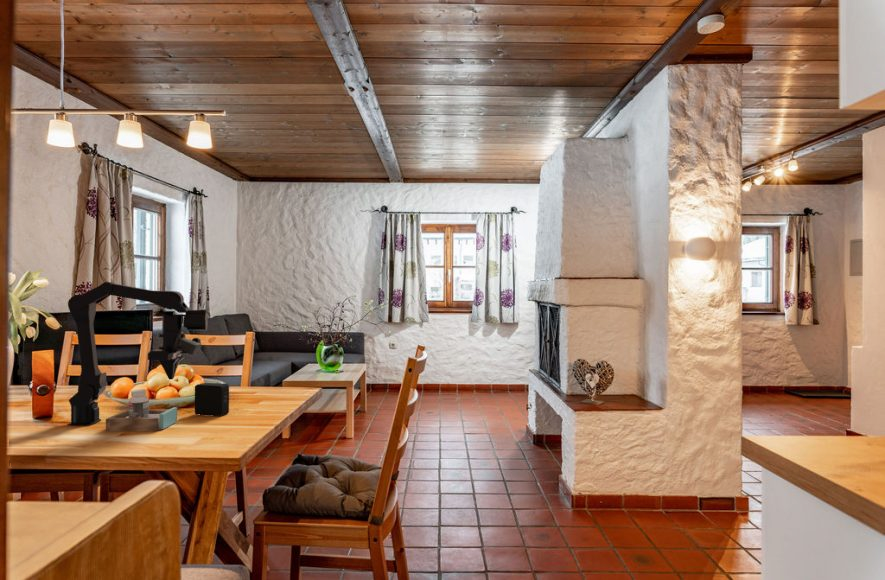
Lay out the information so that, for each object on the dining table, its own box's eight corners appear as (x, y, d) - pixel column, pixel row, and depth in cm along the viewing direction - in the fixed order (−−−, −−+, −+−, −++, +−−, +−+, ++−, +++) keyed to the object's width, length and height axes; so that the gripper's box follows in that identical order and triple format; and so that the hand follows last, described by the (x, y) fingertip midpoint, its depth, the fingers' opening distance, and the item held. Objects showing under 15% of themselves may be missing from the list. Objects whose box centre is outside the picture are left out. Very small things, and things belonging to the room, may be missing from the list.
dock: (105, 431, 159) (105, 418, 159) (127, 421, 171) (127, 409, 171) (156, 431, 160) (156, 418, 160) (174, 421, 172) (174, 409, 172)
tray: (117, 429, 161) (117, 414, 161) (133, 421, 170) (133, 407, 170) (163, 429, 161) (163, 414, 161) (177, 421, 171) (177, 407, 171)
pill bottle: (124, 424, 163) (124, 391, 163) (134, 420, 168) (135, 388, 168) (142, 424, 163) (142, 392, 163) (152, 420, 168) (152, 388, 168)
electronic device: (221, 416, 178) (221, 386, 178) (194, 414, 180) (194, 384, 180) (229, 413, 182) (229, 383, 182) (202, 412, 184) (202, 382, 184)
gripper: (184, 333, 165) (182, 385, 165) (209, 328, 184) (208, 375, 184) (147, 332, 165) (145, 384, 165) (176, 328, 184) (175, 374, 184)
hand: (171, 379), depth 175 cm, fingers closed
